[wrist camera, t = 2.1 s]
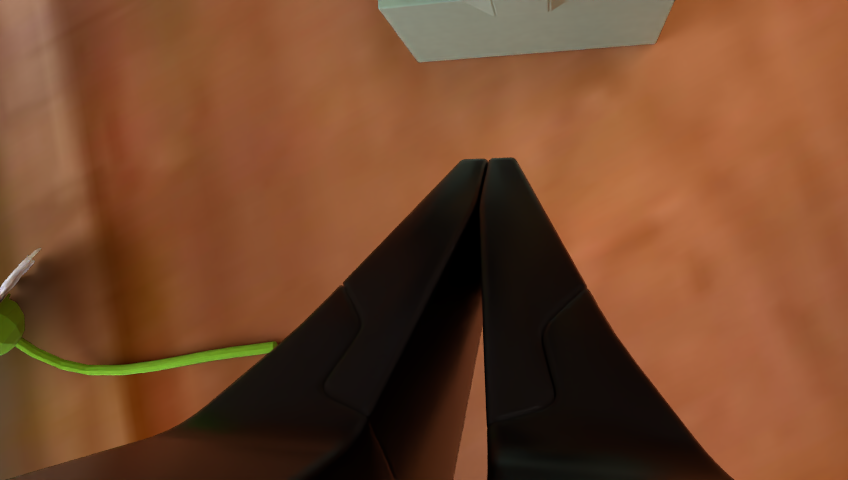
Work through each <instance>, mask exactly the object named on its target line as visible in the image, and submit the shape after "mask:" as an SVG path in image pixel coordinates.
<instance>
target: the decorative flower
mask: <svg viewBox="0 0 848 480" xmlns="http://www.w3.org/2000/svg"><path fill="white" fill-rule="evenodd" d="M41 249H42V248H41V247H40V248H38V249H36V250H35V251H34V252H33V253H32V254H31V255H30V256H29V255H28V256H27V257H26V258H25V259H24V260H23V261H22V262H21V263H20V264H19V265H18V267H17V268H16V269H15V270H14V271H13V272H12V273H11V275H10V276H9V277H8V278H7V279H6V280H5V282H4V283H3V284H2V286H1V287H0V355H3V354H5V353H7V352H9V351H10V350H11V349H12V348H13V347H17V348H18V349H20V350H22V351H23V352H25V353H26V354H28V355H30V356H31V357H33V358H36V359H38V360H40V361H43V362H45V363H47V364H50V365H52V366H55V367H57V368H59V369H62V370H67V371H72V372H76V373H81V374H86V375H129V374H137V373H144V372H152V371H158V370H164V369H169V368H175V367H181V366H186V365H192V364H197V363H202V362H208V361H214V360H221V359H228V358H235V357H242V356H251V355H259V354H267V353H269V352H270V351H271V350H273V349H274V348H275V347H276V346H277V342H275V341H273V342H267V343H259V344H251V345H243V346H235V347H228V348H221V349H215V350H208V351H203V352H198V353H193V354H187V355H182V356H177V357H171V358H166V359H161V360H155V361H149V362H141V363H134V364H127V365H86V364H82V363H77V362H73V361H68V360H64V359H61V358H59V357H57V356H55V355H52V354H50V353H48V352H46V351H44V350H41V349H39V348H37V347H36V346H34V345H33V344H31V343H30V342H28V341H27V340H25V339H24V338H22V335H23V332H24V330H25V321H24V314H23V313H22V311H21V309H20V307H19V305H18V304H17V303H16V302H14V301H12V300H10V299H9V297H10V295H11V294H8V295H7V296H6V294H7V293H8V292H9V291H10V290H11V289H12V288H13V287H14V286H15V285H16V284H17V282H18V281H19V279H20V277H21V276H22V275H23V274H24V273H25V272H26V271H27V270H28V269H29V268H30V267H31V266H32V265H33V264H34V262H35V261H34V260H32V258H33V257H34V256H35V255H36V254H37V253H38V252H39V251H40V250H41ZM31 260H32V261H31ZM30 261H31V262H30ZM29 262H30V263H29ZM5 296H6V297H5ZM4 297H5V299H4ZM3 299H4V300H3Z"/></svg>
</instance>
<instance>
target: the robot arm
mask: <svg viewBox="0 0 848 480" xmlns="http://www.w3.org/2000/svg"><path fill="white" fill-rule="evenodd" d="M482 326H483V343H484V368H485V393H486V418H487V428H488V429H487V446H488V474H487V480H734V479H733V478H732V477H730V476H729V475H728V474H727V473H726V472H725V471H724V470H723V469H722V468H721V467H720V466H719V465H718V464H717V463H716V462H715V461H714V460H713V459H712V458H711V457H710V456H709V455H708V454H707V452H706V451H705V450H704V449H703V448H702V446H701V445H700V444H699V443H698V441H697V440H696V439H695V438H694V436H693V435H692V434H691V433H690V431H689V430H688V429H687V427H686V426H685V425H684V424H683V422H682V421H681V420H680V418H679V417H678V416H677V415H676V413H675V412H674V411H673V409H672V408H671V407H670V406H669V404H668V403H667V402H666V401H665V399H664V398H663V397H662V395H661V394H660V393H659V392H658V390H657V389H656V388H655V386H654V385H653V384H652V383H651V381H650V380H649V379H648V377H647V376H646V375H645V374H644V372H643V371H642V370H641V368H640V367H639V366H638V365H637V363H636V362H635V360H634V359H633V358H632V356H631V355H630V354H629V352H628V351H627V349H626V348H625V347H624V345H623V344H622V343H621V341H620V340H619V338H618V337H617V336H616V334H615V333H614V331H613V329H612V328H611V326H610V324H609V323H608V321H607V320H606V318H605V316H604V315H603V313H602V311H601V310H600V308H599V307H598V305H597V303H596V301H595V299H594V298H593V296H592V294H591V292H590V291H589V290H588V289H587V286H586V284H585V282H584V280H583V278H582V277H581V275H580V273H579V271H578V270H577V268H576V266H575V264H574V262H573V261H572V259H571V257H570V255H569V253H568V252H567V250H566V248H565V246H564V245H563V243H562V241H561V239H560V237H559V236H558V234H557V232H556V230H555V228H554V227H553V225H552V223H551V221H550V219H549V218H548V216H547V214H546V212H545V211H544V209H543V207H542V205H541V203H540V202H539V200H538V198H537V196H536V194H535V193H534V191H533V189H532V187H531V186H530V184H529V182H528V180H527V178H526V177H525V175H524V173H523V171H522V169H521V168H520V166H519V164H518V162H517V161H516V159H514V158H492V159H490V160H489V161H487V160H486V159H464V160H462V161H460V162H459V163H458V164H457V165H456V166H455V167H454V168H453V169H452V170H451V171H450V172H449V173H448V174H447V175H446V177H445V178H444V179H443V180H442V181H441V182H440V183H439V184H438V185H437V186H436V187H435V188H434V189H433V190H432V191H431V192H430V193H429V194H428V195H427V196H426V197H425V198H424V199H423V200H422V201H421V202H420V203H419V204H418V206H417V207H416V208H415V209H414V210H413V211H412V212H411V213H410V214H409V215H408V216H407V217H406V218H405V219H404V220H403V221H402V222H401V223H400V224H399V225H398V226H397V227H396V228H395V229H394V230H393V231H392V232H391V233H390V234H389V236H388V237H387V238H386V239H385V240H384V241H383V242H382V243H381V244H380V245H379V246H378V247H377V248H376V249H375V250H374V251H373V252H372V253H371V254H370V255H369V256H368V257H367V258H366V259H365V260H364V261H363V262H362V263H361V264H360V266H359V267H358V268H357V269H356V270H355V271H354V272H353V273H352V274H351V275H350V276H349V277H348V278H347V279H346V280H345V281H344V282H343V286H342V285H341V286H339V287H338V288H337V289H336V290H335V291H334V292H333V293H332V294H331V295H330V296H329V297H328V298H327V299H326V300H325V301H324V302H323V303H322V304H321V305H320V306H319V307H318V308H317V309H316V310H315V311H314V312H313V313H312V314H311V315H310V316H309V317H308V318H307V319H306V320H305V321H304V322H303V323H302V324H301V325H300V326H299V327H297V328H296V329H295V330H294V331H293V332H292V333H291V334H290V335H288V336H287V337H286V338H285V339H284V340H283V341H282V342H281V343H279V344H278V345H277V346H276V347H275V348H274V349H273V350H271V351H270V352H269V353H268V354H267V355H265V356H264V357H263V358H262V359H261V360H260V361H258V362H257V363H256V364H255V365H254V366H252V367H251V368H250V369H249V370H248V371H247V372H245V373H244V374H243V375H242V376H241V377H239V378H238V379H237V380H236V381H235V382H234V383H232V384H231V385H230V386H229V387H228V388H226V389H225V390H224V391H223V392H222V393H221V394H219V395H218V396H217V397H216V398H215V399H213V400H212V401H211V402H210V403H209V404H208V405H206V406H205V407H204V408H202V409H201V410H200V411H199V412H197V413H196V414H195V415H193V416H192V417H190V418H189V419H187V420H186V421H184V422H183V423H181V424H179V425H177V426H175V427H173V428H172V429H170V430H167V431H165V432H163V433H160V434H158V435H155V436H153V437H150V438H147V439H143V440H140V441H136V442H133V443H130V444H126V445H123V446H119V447H116V448H112V449H109V450H106V451H102V452H99V453H95V454H92V455H89V456H85V457H82V458H78V459H75V460H71V461H68V462H65V463H61V464H58V465H54V466H51V467H48V468H44V469H41V470H37V471H34V472H30V473H27V474H24V475H20V476H17V477H13V478H10V479H7V480H453V478H454V472H455V467H456V462H457V457H458V451H459V446H460V441H461V436H462V431H463V425H464V420H465V415H466V410H467V404H468V399H469V394H470V389H471V383H472V378H473V373H474V368H475V362H476V357H477V352H478V347H479V342H480V336H481V331H482Z"/></svg>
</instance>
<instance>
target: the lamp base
mask: <svg viewBox="0 0 848 480" xmlns="http://www.w3.org/2000/svg"><path fill="white" fill-rule="evenodd" d="M674 2H675V0H378V8H379V10H380V11H381V13H382V14H383V16H384V17H385V18H386V20H387V21H388V22H389V24H390V25H391V26H392V28H393V29H394V30H395V32H396V33H397V35H398V36H399V37H400V39H401V40H402V41H403V43H404V44H405V45H406V47H407V48H408V50H409V51H410V52H411V54H412V55H413V56H414V58H415V59H416V60H417V62H430V61H443V60H456V59H468V58H481V57H494V56H506V55H519V54H532V53H544V52H557V51H570V50H582V49H595V48H608V47H620V46H633V45H646V44H655V43H656V42H657V40H658V37H659V35H660V33H661V31H662V28H663V26H664V24H665V22H666V19H667V17H668V15H669V13H670V10H671V8H672V6H673V4H674Z"/></svg>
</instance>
